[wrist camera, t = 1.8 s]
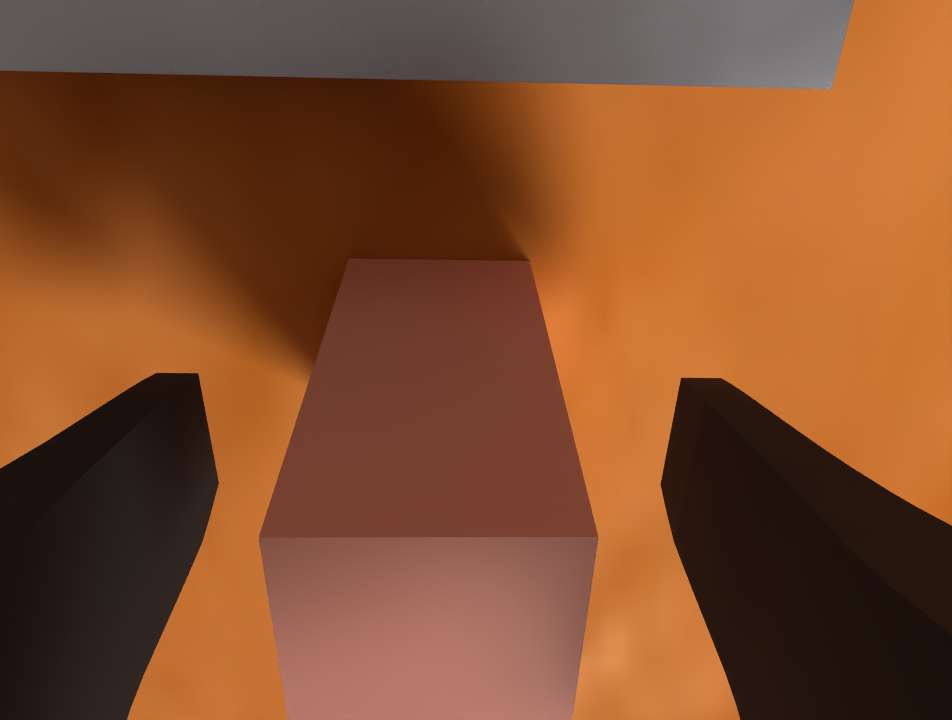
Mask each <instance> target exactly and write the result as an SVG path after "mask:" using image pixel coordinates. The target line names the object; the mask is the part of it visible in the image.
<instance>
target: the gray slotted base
mask: <svg viewBox="0 0 952 720" xmlns="http://www.w3.org/2000/svg"><path fill="white" fill-rule="evenodd" d="M853 3H854V0H0V71H44V72H89V73H133V74H178V75H223V76H267V77H312V78H356V79H401V80H446V81H490V82H535V83H579V84H624V85H669V86H713V87H758V88H802V89H832V86H833V82H834V78H835V74H836V70H837V66H838V62H839V58H840V54H841V50H842V46H843V42H844V38H845V34H846V30H847V26H848V23H849V19H850V15H851V11H852V7H853Z"/></svg>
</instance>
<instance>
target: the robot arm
mask: <svg viewBox="0 0 952 720" xmlns="http://www.w3.org/2000/svg"><path fill="white" fill-rule="evenodd" d="M218 484H219V482H218V476H217V471H216V466H215V460H214V455H213V450H212V444H211V439H210V434H209V428H208V423H207V418H206V412H205V407H204V402H203V396H202V391H201V386H200V380H199V375H198V373H156V374H154V375H152V376H150V377H148V378H146V379H144V380H143V381H141V382H139V383H137V384H136V385H134V386H132V387H131V388H129V389H128V390H126V391H124V392H123V393H121V394H120V395H118V396H117V397H115V398H113V399H112V400H110V401H109V402H107V403H106V404H104V405H103V406H101V407H99V408H98V409H96V410H95V411H93V412H92V413H90V414H89V415H87V416H85V417H84V418H82V419H81V420H79V421H78V422H76V423H74V424H73V425H71V426H70V427H68V428H67V429H65V430H64V431H62V432H60V433H59V434H57V435H56V436H54V437H53V438H51V439H49V440H48V441H46V442H45V443H43V444H41V445H40V446H38V447H36V448H35V449H33V450H31V451H29V452H28V453H26V454H24V455H23V456H21V457H19V458H18V459H16V460H14V461H12V462H11V463H9V464H7V465H6V466H4V467H2V468H0V720H127V718H128V714H129V711H130V708H131V706H132V703H133V701H134V698H135V696H136V693H137V690H138V688H139V685H140V683H141V680H142V678H143V675H144V673H145V671H146V668H147V666H148V664H149V662H150V659H151V657H152V655H153V653H154V651H155V648H156V646H157V644H158V642H159V639H160V637H161V635H162V633H163V630H164V628H165V626H166V624H167V621H168V619H169V617H170V615H171V612H172V610H173V608H174V606H175V603H176V601H177V599H178V597H179V594H180V592H181V590H182V588H183V585H184V583H185V581H186V578H187V576H188V574H189V572H190V569H191V567H192V565H193V562H194V560H195V558H196V555H197V553H198V551H199V548H200V546H201V544H202V541H203V538H204V534H205V531H206V528H207V524H208V521H209V518H210V514H211V510H212V507H213V503H214V499H215V495H216V491H217V488H218ZM661 489H662V493H663V498H664V502H665V507H666V511H667V516H668V520H669V523H670V527H671V531H672V535H673V539H674V543H675V545H676V548H677V551H678V554H679V556H680V559H681V561H682V564H683V567H684V569H685V572H686V574H687V577H688V580H689V582H690V585H691V587H692V590H693V592H694V595H695V597H696V600H697V602H698V605H699V607H700V610H701V613H702V615H703V618H704V620H705V623H706V625H707V628H708V630H709V633H710V635H711V638H712V640H713V643H714V645H715V648H716V650H717V653H718V655H719V658H720V660H721V663H722V666H723V668H724V671H725V673H726V676H727V679H728V682H729V685H730V688H731V691H732V693H733V696H734V699H735V702H736V705H737V709H738V712H739V716H740V720H952V526H951V525H949V524H947V523H946V522H944V521H942V520H940V519H938V518H936V517H934V516H932V515H931V514H929V513H927V512H925V511H923V510H921V509H919V508H917V507H916V506H914V505H912V504H910V503H909V502H907V501H905V500H904V499H902V498H900V497H898V496H897V495H895V494H893V493H892V492H890V491H888V490H887V489H885V488H884V487H882V486H880V485H879V484H877V483H876V482H874V481H872V480H871V479H869V478H867V477H866V476H864V475H863V474H861V473H859V472H858V471H856V470H855V469H853V468H852V467H850V466H848V465H847V464H845V463H844V462H842V461H841V460H839V459H838V458H836V457H835V456H833V455H832V454H830V453H829V452H827V451H826V450H825V449H823V448H822V447H820V446H819V445H817V444H816V443H814V442H813V441H811V440H810V439H809V438H807V437H806V436H804V435H803V434H801V433H800V432H799V431H797V430H796V429H794V428H793V427H792V426H790V425H789V424H787V423H786V422H785V421H783V420H782V419H780V418H779V417H778V416H776V415H775V414H773V413H772V412H771V411H769V410H768V409H766V408H765V407H764V406H762V405H761V404H759V403H758V402H757V401H755V400H754V399H752V398H751V397H750V396H748V395H747V394H745V393H744V392H742V391H741V390H739V389H738V388H736V387H735V386H733V385H732V384H730V383H728V382H727V381H725V380H723V379H722V378H681V381H680V386H679V392H678V397H677V402H676V407H675V413H674V418H673V423H672V428H671V433H670V439H669V444H668V449H667V454H666V459H665V465H664V470H663V475H662V480H661Z"/></svg>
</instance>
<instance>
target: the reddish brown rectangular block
mask: <svg viewBox="0 0 952 720" xmlns="http://www.w3.org/2000/svg"><path fill="white" fill-rule="evenodd" d="M259 542H260V549H261V555H262V561H263V568H264V574H265V580H266V586H267V593H268V599H269V605H270V612H271V618H272V624H273V631H274V637H275V643H276V649H277V656H278V662H279V668H280V675H281V681H282V687H283V694H284V700H285V706H286V712H287V719H288V720H572V716H573V709H574V702H575V695H576V688H577V682H578V675H579V668H580V661H581V654H582V647H583V640H584V633H585V626H586V619H587V612H588V605H589V598H590V591H591V584H592V577H593V571H594V564H595V557H596V550H597V543H598V534H597V530H596V526H595V522H594V518H593V514H592V510H591V506H590V502H589V498H588V494H587V490H586V486H585V482H584V478H583V474H582V470H581V466H580V462H579V457H578V453H577V449H576V445H575V441H574V437H573V433H572V429H571V425H570V421H569V417H568V413H567V409H566V405H565V401H564V397H563V393H562V389H561V385H560V381H559V377H558V373H557V369H556V365H555V361H554V357H553V353H552V349H551V345H550V341H549V337H548V333H547V329H546V325H545V321H544V317H543V313H542V309H541V305H540V301H539V297H538V293H537V289H536V285H535V281H534V277H533V273H532V269H531V265H530V261H510V260H435V259H360V258H349V259H348V262H347V265H346V268H345V271H344V274H343V278H342V281H341V284H340V287H339V290H338V293H337V296H336V299H335V302H334V306H333V309H332V312H331V315H330V318H329V321H328V324H327V327H326V330H325V333H324V337H323V340H322V343H321V346H320V349H319V352H318V355H317V358H316V361H315V365H314V368H313V371H312V374H311V377H310V380H309V383H308V386H307V389H306V392H305V396H304V399H303V402H302V405H301V408H300V411H299V414H298V417H297V420H296V424H295V427H294V430H293V433H292V436H291V439H290V442H289V445H288V448H287V451H286V455H285V458H284V461H283V464H282V467H281V470H280V473H279V476H278V479H277V483H276V486H275V489H274V492H273V495H272V498H271V501H270V504H269V507H268V510H267V514H266V517H265V520H264V523H263V526H262V529H261V532H260V535H259Z"/></svg>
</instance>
